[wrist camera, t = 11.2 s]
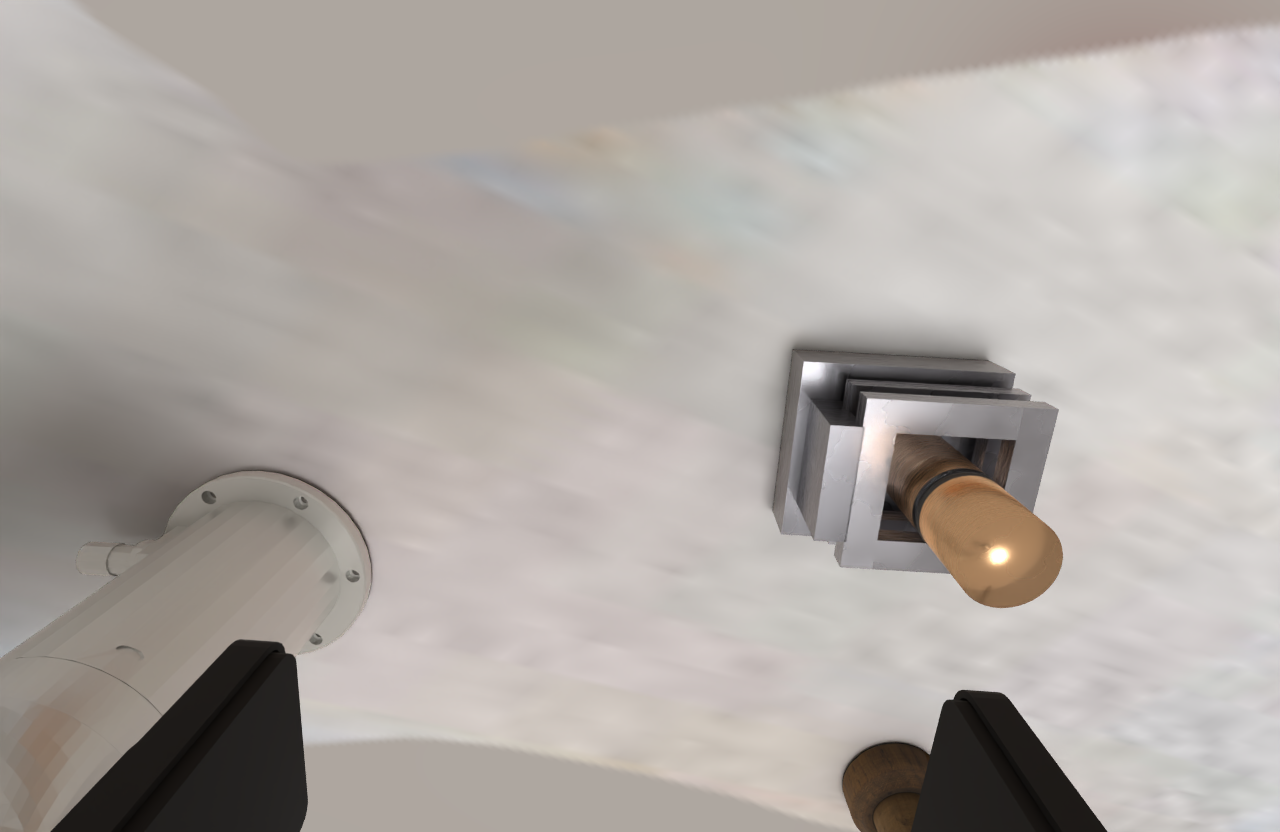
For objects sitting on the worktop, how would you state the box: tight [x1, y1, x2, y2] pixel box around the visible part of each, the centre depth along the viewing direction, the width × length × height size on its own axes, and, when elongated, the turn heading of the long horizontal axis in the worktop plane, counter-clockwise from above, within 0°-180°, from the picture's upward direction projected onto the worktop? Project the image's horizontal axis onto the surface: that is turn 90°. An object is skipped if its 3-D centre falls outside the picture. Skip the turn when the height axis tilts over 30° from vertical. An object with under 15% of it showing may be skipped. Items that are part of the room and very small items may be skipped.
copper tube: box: [886, 433, 1063, 608], centre depth 31 cm, size 4×4×11 cm
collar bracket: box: [773, 349, 1059, 574], centre depth 36 cm, size 11×10×7 cm
